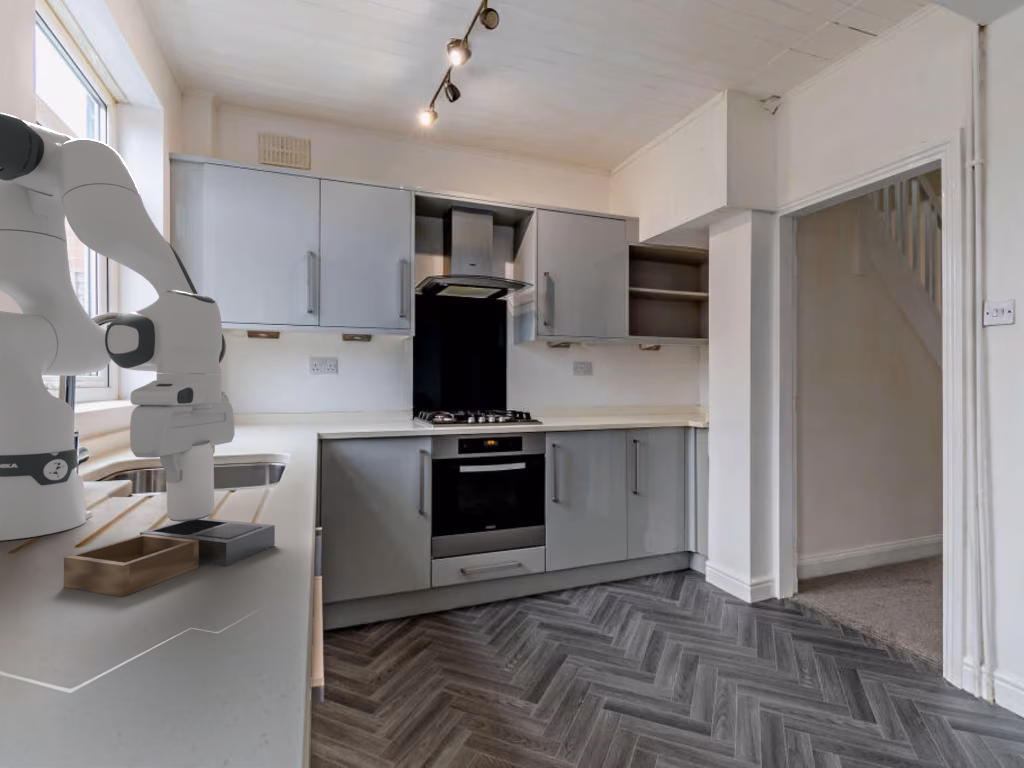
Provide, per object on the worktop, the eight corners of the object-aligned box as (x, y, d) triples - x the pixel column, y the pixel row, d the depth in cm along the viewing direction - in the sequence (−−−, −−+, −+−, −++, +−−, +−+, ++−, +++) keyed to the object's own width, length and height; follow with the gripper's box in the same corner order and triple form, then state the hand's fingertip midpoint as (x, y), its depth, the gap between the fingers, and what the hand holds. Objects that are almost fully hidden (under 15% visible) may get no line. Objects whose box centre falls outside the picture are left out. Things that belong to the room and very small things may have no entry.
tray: (139, 555, 78) (139, 531, 78) (194, 537, 87) (194, 516, 87) (226, 566, 73) (226, 542, 73) (274, 546, 82) (274, 524, 82)
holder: (63, 586, 66) (63, 557, 66) (144, 559, 76) (144, 533, 76) (122, 597, 62) (122, 565, 62) (198, 567, 73) (198, 540, 73)
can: (192, 523, 78) (190, 446, 77) (156, 520, 79) (155, 444, 78) (223, 511, 84) (222, 440, 84) (190, 508, 85) (188, 438, 85)
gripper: (210, 390, 91) (209, 466, 91) (120, 393, 71) (119, 490, 71) (244, 391, 91) (243, 467, 91) (164, 393, 71) (163, 491, 71)
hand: (188, 477), depth 81 cm, fingers closed on can, 5 cm apart
